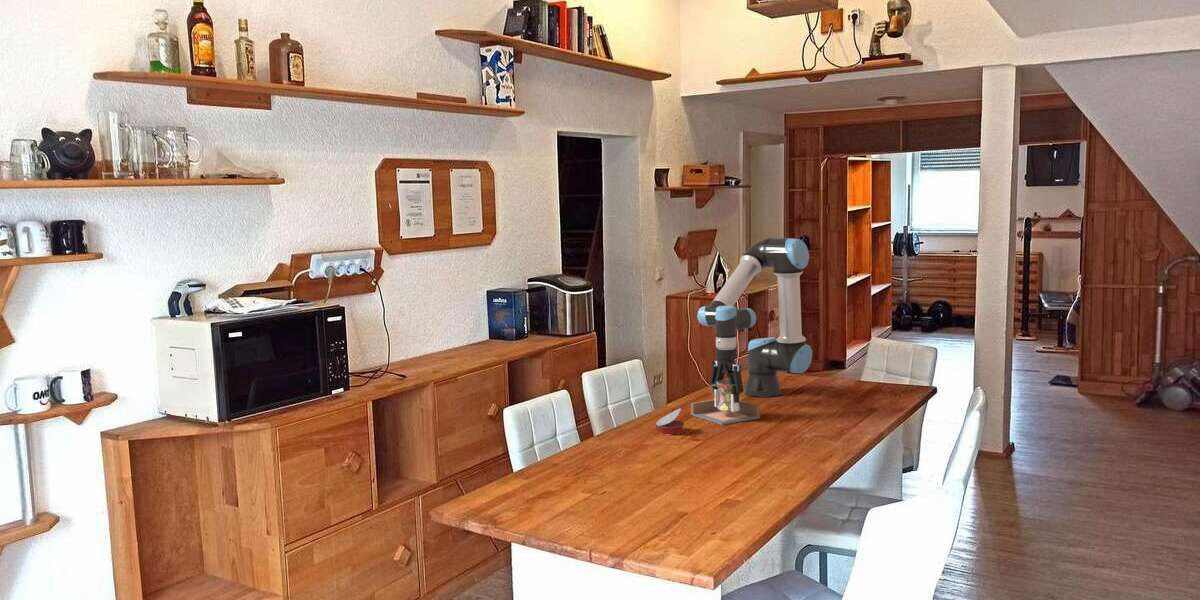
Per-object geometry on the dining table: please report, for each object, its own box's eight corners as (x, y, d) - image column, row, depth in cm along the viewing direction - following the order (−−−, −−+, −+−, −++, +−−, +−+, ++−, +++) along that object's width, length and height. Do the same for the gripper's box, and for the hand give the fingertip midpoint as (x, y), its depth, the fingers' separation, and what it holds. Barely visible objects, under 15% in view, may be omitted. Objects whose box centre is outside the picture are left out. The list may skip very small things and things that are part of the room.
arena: (728, 409, 351) (728, 396, 351) (759, 418, 336) (759, 405, 336) (690, 416, 342) (690, 402, 342) (721, 425, 327) (721, 411, 326)
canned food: (676, 448, 315) (671, 426, 310) (652, 441, 321) (646, 419, 316) (693, 427, 322) (688, 406, 317) (669, 421, 328) (664, 399, 323)
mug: (744, 408, 339) (745, 380, 337) (737, 414, 330) (738, 385, 329) (713, 406, 344) (713, 378, 342) (706, 411, 335) (706, 383, 334)
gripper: (699, 345, 341) (700, 404, 344) (737, 353, 323) (737, 415, 325) (715, 343, 345) (715, 402, 348) (753, 350, 327) (753, 412, 329)
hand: (726, 408), depth 337 cm, fingers closed on mug, 9 cm apart
